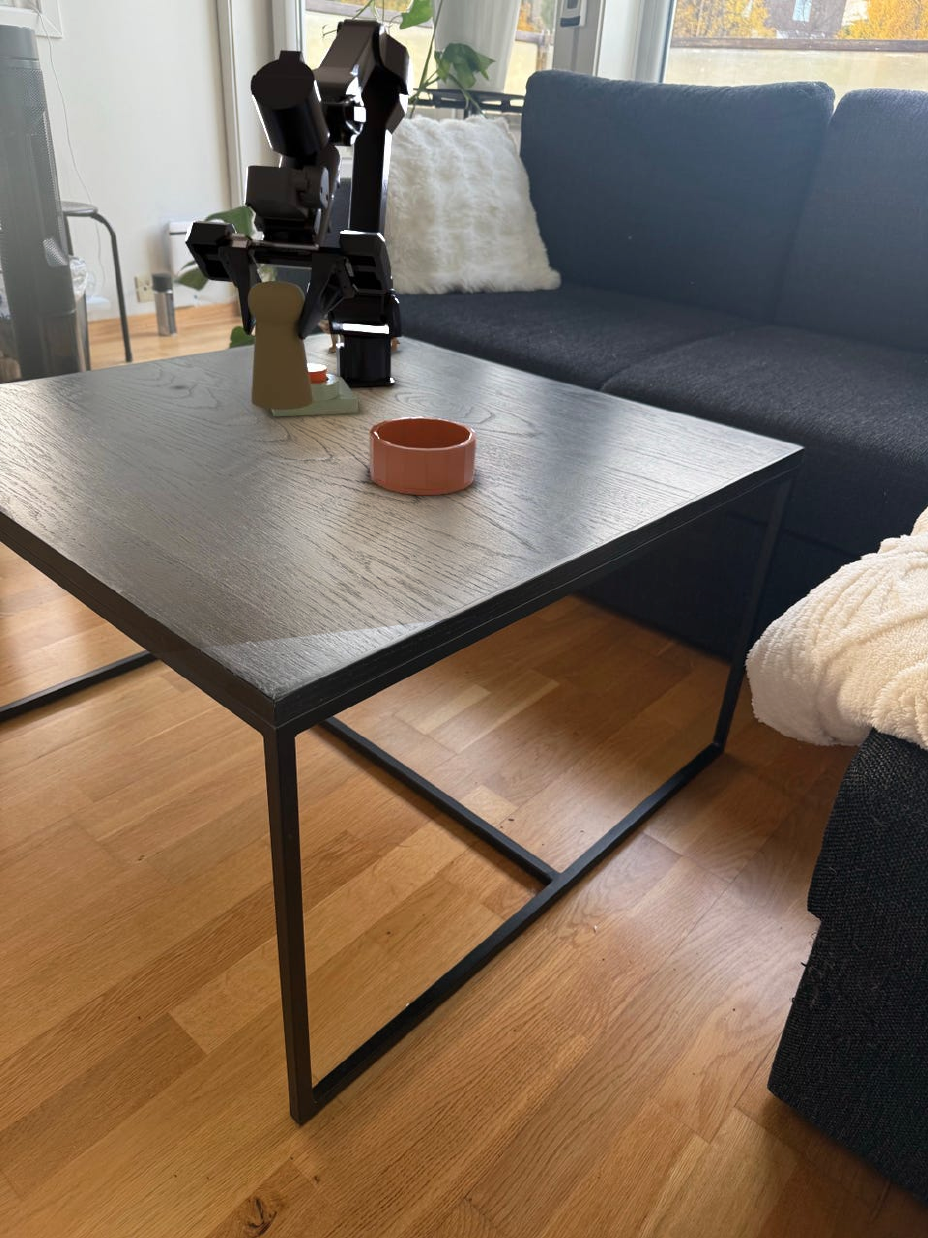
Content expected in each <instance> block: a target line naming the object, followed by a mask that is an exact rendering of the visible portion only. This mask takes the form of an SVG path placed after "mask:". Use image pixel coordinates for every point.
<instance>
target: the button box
mask: <svg viewBox="0 0 928 1238" xmlns="http://www.w3.org/2000/svg"><path fill="white" fill-rule="evenodd" d="M326 378H327V382H323V383H316V384H311V386H312V392H313V398H314V401H313V403H312V404H311V405H309V406H306V407H303V408H298V409H291V410H272V409H270V410H271V413H272V415H273V417H293V416H294V417H295V416H313V415H317V416H318V415H335V414H336V415H337V414H356V413H357V414H358V413H359V400H358V398H357V396H356V395H355V393H354V392H353V390H351V387H348V385H347V384H346V383H345V381H344V380H343V378H342V377H339V376H338V375H334V374H331V373H328V372H326Z"/></svg>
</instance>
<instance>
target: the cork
mask: <svg viewBox="0 0 928 1238" xmlns="http://www.w3.org/2000/svg"><path fill="white" fill-rule="evenodd" d="M305 297H306V296H305V294H304V292H303V290H302V289H301V287H300V286H299V285H296V284H295V283H292V282H288V281H282V280H267V281H262V282H261V283H258V284H255V285H254V286H253V287H252V288H251V290H250V292H249V295H248V306H249V309H250V312H251V314H252V315H253V317H254V318H255V319H256V323H255V327H254V343H253V359H252V361H253V363H252V379H251V396H250V398H251V399H250V401H251V403H252V405H254V406H256V407H257V408H261V409H265V410H266V409H267V410H271V409H272V410H291V409H298V408H303V407H306V406H309V405H311V404H312V403H313V401H314V398H313V392H312V386H311V381H310V375H309V369H308V364H309V363H308V358H307V353H306V347H305V340H300V338H299V336H298V327H299V320H300V315H301V312H302V308H303V305H304V301H305ZM272 410H271V411H272Z"/></svg>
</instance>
